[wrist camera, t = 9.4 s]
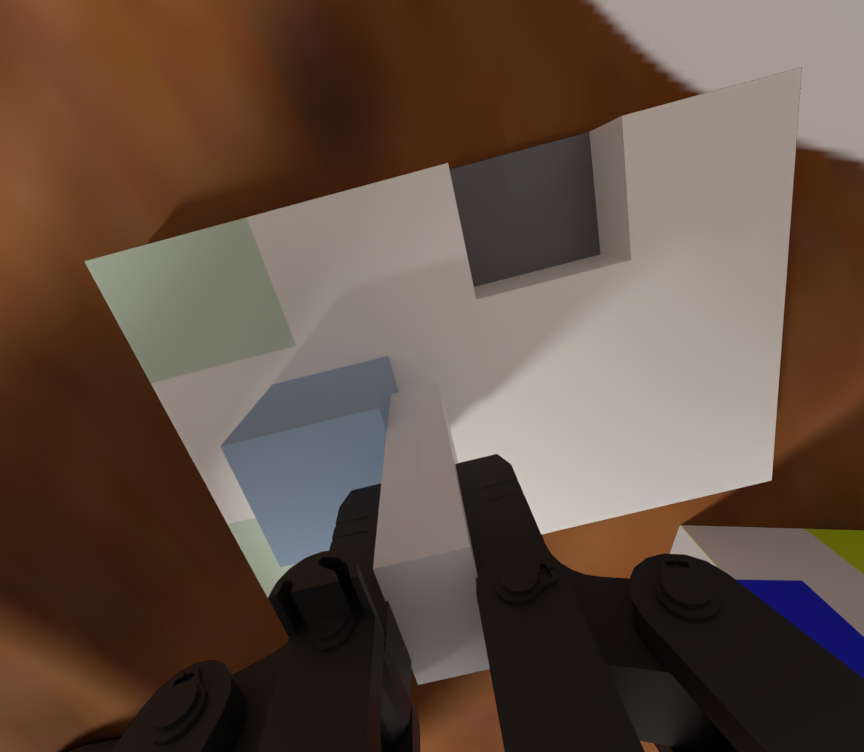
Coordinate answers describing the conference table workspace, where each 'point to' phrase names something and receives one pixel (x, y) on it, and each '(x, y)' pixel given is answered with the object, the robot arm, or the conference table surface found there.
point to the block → (311, 452)
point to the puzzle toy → (794, 577)
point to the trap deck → (509, 307)
